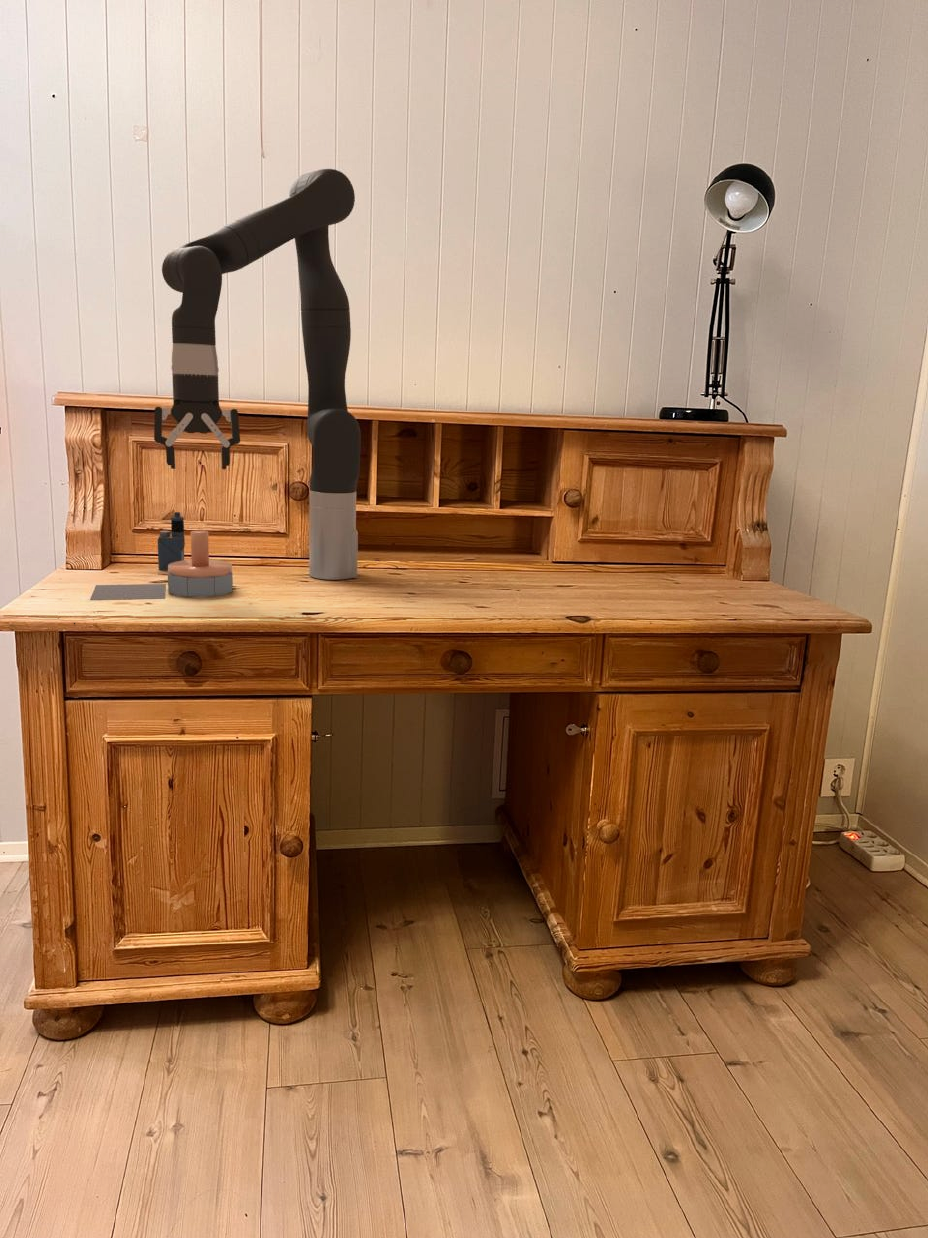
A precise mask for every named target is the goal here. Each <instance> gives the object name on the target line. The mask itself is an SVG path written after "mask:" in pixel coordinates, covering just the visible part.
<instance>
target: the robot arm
mask: <svg viewBox="0 0 928 1238" xmlns="http://www.w3.org/2000/svg"><path fill="white" fill-rule="evenodd" d="M355 195H356V194H355V190H354V187H353V184H352V182H351V180H350V179H349V178H348V176H347V175H346V174H345V173H344V172H342V171H339V170H337V169H334V168H323V169H318V170H314V171H310V172H307V173H303V174H301V175H299V176H297V177H296V178H295V179H294V180H293V181H292V184H291V186H290V189H289V197H288V198H285V199H284V200H282V201H279V202H277V203H274V204H272V205H269V206H267V207H263V208H262V209H259V210H255V211H253V212H251V213H248V214H246V215H244V216H241V217H239V218H238V219H235V220H233V221H231V222H230V223H228V224H226V225H223V226H222V227H220V228H219V229H217V230H216V231H214V232H213V233H210V234H208V235H205V236H203V237H200V238H198V239H195V240H193V241H190V242H188V243H185V244H183V245H180V246H178V247H176V248H174V249H172V250H171V251H170V252H168V253H167V254H166V256H165V257H164V259H163V262H162V265H161V273H162V277H163V279H164V282H165V283H166V285H167V286H169V288H170V289H172V290H173V291H175V292H178V293H181V294H182V295H181V303H180V305H179V307H176V309H175V310H174V311H173V312H172V316H171V335H172V336H171V337H172V350H171V371H172V373H171V375H172V396H173V397H172V398H173V399H172V400H173V401H172V402H173V403H172V407H171V408H169V407H161V406H155V408H154V421H153V424H154V425H153V426H154V428H153V429H154V431H153V434H154V435H153V439H154V442H156V443H159V444H161V445H163V446H164V448H165V452H166V453H165V456H166V464H167V466H170V469H171V470H175V469H176V459H175V457H176V455H175V453H176V452H175V446H174V444H175V442H176V441H177V439H178V438H179V437H180V436H181V435H182V433H183V432H185V433H188V434H196V433H199V434H204V435H205V434H209V433H211V432H212V434H213V435H214V436H215V437H216V438H217V440H218V441H219V442H220V444H221V447H220V452H221V453H220V454H221V455H220V456H221V458H220V459H221V469H222V470H227V467H229V466H230V464H231V447H233V446H234V445H239V444H240V443H241V434H240V433H241V432H240V422H239V412H238V409H236V408H231V409H221V407H220V396H219V395H220V393H219V371H220V370H219V361H218V359H219V358H218V355H217V345H216V342H217V340H216V322H215V321H216V316H217V312H218V309H219V302H220V297H221V293H222V285H223V275H225V274H228V273H233V272H234V273H235V272H237V271H239V270H242V269H244V268H245V267H247V266H249V265H250V264H252V263H254V262H256V261H258V260H260V259H261V258H263V257H264V256H267V255H268V254H270V253H271V252H273V251H274V250H276V249H278V248H279V247H281V246H283V245H285V244H286V243H288V242H291V241H292V240H294V243H295V251H296V258H297V268H298V270H297V271H298V283H299V294H300V298H299V299H300V315H301V316H300V319H301V333H302V339H303V351H304V359H305V367H306V374H307V375H306V376H307V385H308V391H307V392H308V395H307V396H308V397H307V400H308V401H307V419H306V420H307V422H306V433H307V438H308V441H309V442H310V444H311V445H312V448H313V451H312V452H313V453H312V454H313V455H312V457H313V458H312V471H311V475H310V476H309V534H308V535H309V537H308V538H309V542H308V543H309V544H308V545H309V551H308V553H309V555H308V557H309V559H308V560H309V564H308V567H309V572H308V573H309V577H311V578H314V579H320V580H347V579H348V580H349V579H354V578H355V579H356V578H358V555H359V553H358V552H359V550H358V549H359V544H358V543H359V539H358V538H359V533H358V530H357V525H356V522H357V486H358V485H357V484H358V480H359V476H360V469H361V467H360V465H361V449H362V448H361V443H362V441H361V440H362V439H361V438H362V435H361V428H360V424H359V422H358V420H357V418H356V417H355V416H354V415H353V414H352V413H351V412H349V411H348V404H347V394H346V373H347V366H348V361H349V356H350V355H349V354H350V349H351V347H350V346H351V339H352V337H351V335H352V334H351V333H352V328H351V312H350V310H351V309H350V302H349V298H348V297H349V296H348V294H347V291H346V289H345V287H344V285H343V282H342V280H341V278H340V277H339V275H338V272H337V271H336V268H335V266H334V264H333V260H332V257H331V251H330V239H329V226H332V225H336V224H339V223H342V222H343V221H344V220H346V219H347V218H348V217H349V216H350V215H351V213H352V212H353V209H354V206H355V199H356V198H355V197H356V196H355ZM169 415H171V417H172V418H173V419H174V420H175V421H176V423H177V425H176V426H175V427H174V429H173V430H172V431H171V432H170V434H169V435H168V437H167V436H163V435H162V434H163V421H165V420H167V419H168V416H169ZM223 416H224V417H225V420H226V421H227V422H228V423H230V427H231V437H230V438H226V436H225V434H223V432H222V431H221V430H220V428H219V427H218V426H217V424H218V423H219V421H220V420H221V418H222V417H223Z"/></svg>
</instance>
